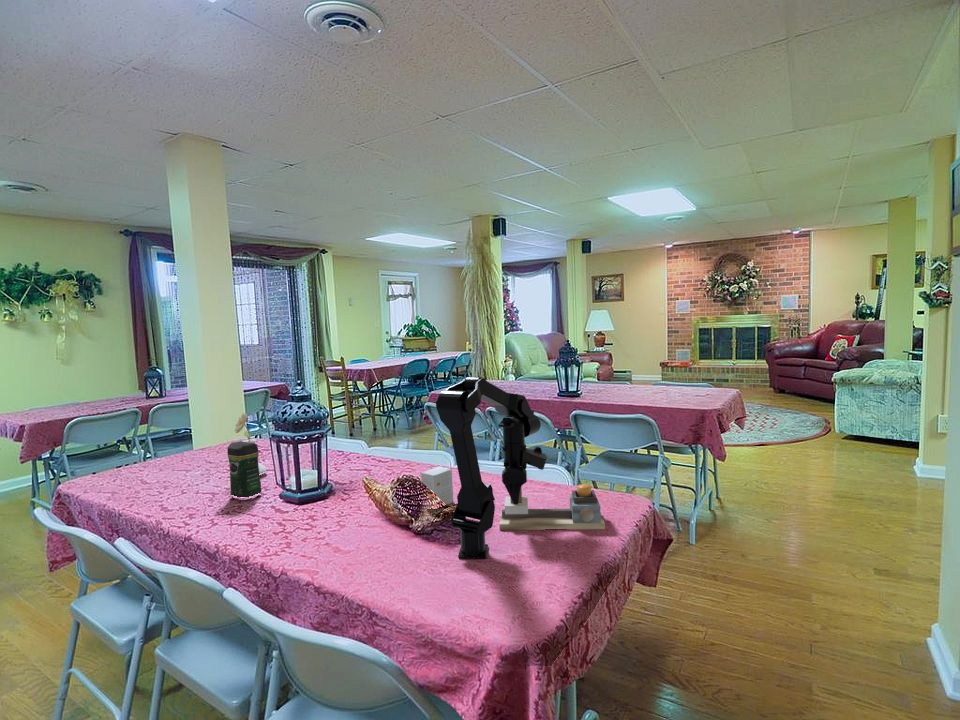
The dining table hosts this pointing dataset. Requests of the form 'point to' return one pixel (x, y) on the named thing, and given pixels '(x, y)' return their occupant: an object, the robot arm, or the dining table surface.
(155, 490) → the dining table surface
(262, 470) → the flower in vase
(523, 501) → the carriage
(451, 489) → the small box
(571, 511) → the rail base
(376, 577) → the dining table surface
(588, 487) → the button
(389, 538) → the dining table surface
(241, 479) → the coffee jar
